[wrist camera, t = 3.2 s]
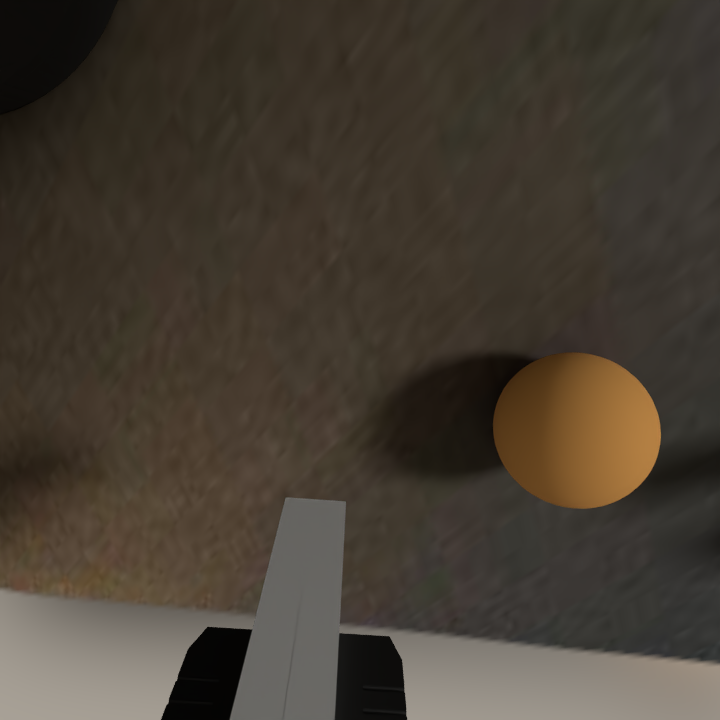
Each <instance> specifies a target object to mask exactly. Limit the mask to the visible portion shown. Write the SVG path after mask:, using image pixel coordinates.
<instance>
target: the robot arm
mask: <svg viewBox="0 0 720 720" xmlns="http://www.w3.org/2000/svg"><path fill="white" fill-rule="evenodd" d="M116 3H117V0H0V114H1V113H5V112H8V111H11V110H14V109H17V108H19V107H22V106H24V105H26V104H29V103H31V102H33V101H34V100H36V99H38V98H40V97H42V96H43V95H45V94H46V93H48V92H49V91H51V90H52V89H54V88H55V87H56V86H58V85H59V84H60V83H61V82H63V81H64V80H65V79H66V78H67V77H68V76H69V75H70V74H71V73H72V72H73V71H75V70H76V68H77V67H78V66H79V65H80V64H81V63H82V62H83V60H84V59H85V58H86V57H87V55H88V54H89V53H90V51H91V50H92V49H93V47H94V46H95V44H96V43H97V41H98V39H99V38H100V36H101V35H102V33H103V31H104V29H105V27H106V25H107V23H108V21H109V19H110V17H111V15H112V12H113V10H114V8H115V5H116ZM345 511H346V501H331V500H316V499H301V498H286V499H285V503H284V507H283V510H282V514H281V518H280V522H279V526H278V530H277V534H276V538H275V542H274V546H273V550H272V554H271V558H270V562H269V566H268V570H267V574H266V578H265V582H264V586H263V590H262V594H261V598H260V602H259V606H258V609H257V613H256V617H255V621H254V625H253V629H252V630H250V629H233V628H217V627H207V628H206V629H205V630H204V632H203V633H202V634H201V635H200V636H199V637H198V639H197V640H196V641H195V642H194V643H193V644H192V645H191V646H190V647H189V649H188V651H187V654H186V656H185V659H184V661H183V664H182V667H181V669H180V672H179V674H178V679H177V681H176V682H175V685H174V687H173V690H172V692H171V695H170V698H169V703H168V705H167V706H166V708H165V711H164V713H163V716H162V719H161V720H407V717H406V701H405V693H404V679H403V666H402V659H401V657H400V655H399V654H398V652H397V650H396V648H395V646H394V644H393V642H392V640H391V639H390V637H389V636H373V635H357V634H342V633H339V627H340V607H341V588H342V569H343V550H344V531H345Z"/></svg>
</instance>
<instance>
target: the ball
mask: <svg viewBox="0 0 720 720" xmlns="http://www.w3.org/2000/svg"><path fill="white" fill-rule="evenodd" d="M493 434H494V441H495V445H496V448H497V451H498V454H499V457H500V459H501V461H502V463H503V465H504V466H505V468H506V469H507V471H508V472H509V473H510V475H511V476H512V477H513V478H514V479H515V480H516V481H517V482H518V483H519V484H520V485H521V486H522V487H523V488H524V489H526V490H527V491H528V492H530V493H531V494H533V495H534V496H536V497H538V498H540V499H542V500H544V501H546V502H549V503H552V504H555V505H558V506H562V507H568V508H595V507H600V506H604V505H607V504H610V503H613V502H615V501H617V500H620V499H621V498H623V497H625V496H627V495H628V494H630V493H631V492H632V491H634V490H635V489H636V488H637V487H638V486H639V485H640V484H641V483H642V482H643V481H644V480H645V479H646V477H647V476H648V474H649V473H650V472H651V470H652V468H653V466H654V464H655V461H656V459H657V456H658V452H659V447H660V440H661V431H660V421H659V417H658V413H657V410H656V408H655V405H654V403H653V400H652V398H651V397H650V395H649V394H648V392H647V391H646V389H645V388H644V386H643V385H642V384H641V383H640V382H639V381H638V379H636V378H635V377H634V376H633V375H632V374H631V373H629V372H628V371H627V370H626V369H624V368H623V367H621V366H619V365H618V364H616V363H614V362H612V361H610V360H608V359H605V358H603V357H599V356H595V355H591V354H586V353H559V354H554V355H549V356H546V357H543V358H541V359H538V360H536V361H534V362H532V363H530V364H529V365H527V366H526V367H524V368H523V369H521V370H520V371H519V372H518V373H517V374H515V375H514V377H513V378H512V379H511V380H510V381H509V382H508V383H507V385H506V386H505V388H504V389H503V391H502V393H501V395H500V397H499V399H498V402H497V404H496V409H495V413H494V419H493Z"/></svg>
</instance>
